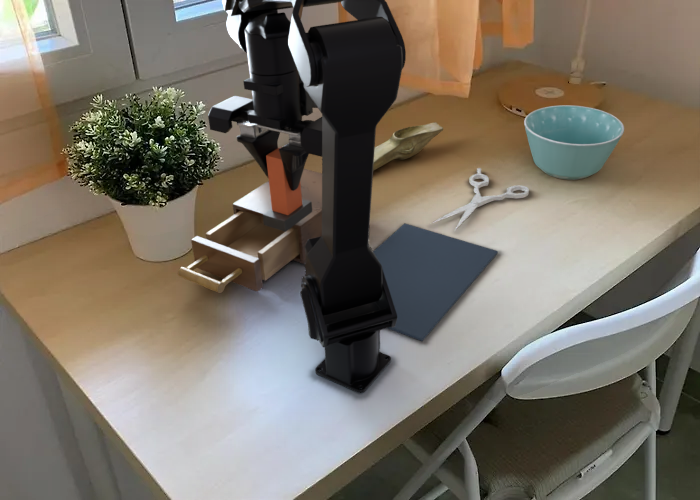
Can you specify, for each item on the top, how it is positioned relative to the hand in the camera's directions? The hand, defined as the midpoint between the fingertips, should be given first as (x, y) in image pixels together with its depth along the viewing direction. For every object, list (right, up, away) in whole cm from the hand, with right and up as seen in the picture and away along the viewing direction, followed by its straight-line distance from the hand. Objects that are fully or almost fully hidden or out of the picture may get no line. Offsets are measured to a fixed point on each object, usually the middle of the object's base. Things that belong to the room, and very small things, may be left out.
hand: (285, 186), depth 91 cm
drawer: (-6, -10, +6) cm, 13 cm away
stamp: (0, -4, +3) cm, 5 cm away
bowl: (+45, +5, +29) cm, 54 cm away
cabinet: (+1, -5, +15) cm, 16 cm away
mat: (+17, -12, +4) cm, 21 cm away
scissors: (+28, -1, +19) cm, 34 cm away
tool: (+15, +8, +34) cm, 38 cm away
